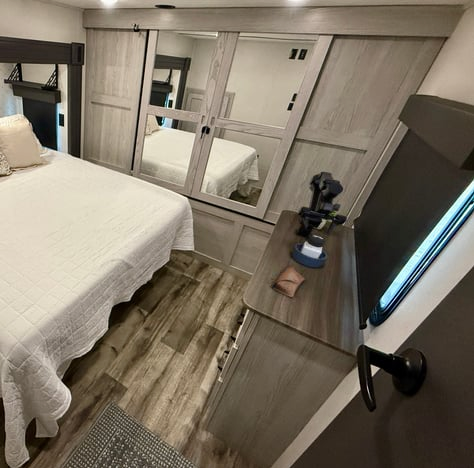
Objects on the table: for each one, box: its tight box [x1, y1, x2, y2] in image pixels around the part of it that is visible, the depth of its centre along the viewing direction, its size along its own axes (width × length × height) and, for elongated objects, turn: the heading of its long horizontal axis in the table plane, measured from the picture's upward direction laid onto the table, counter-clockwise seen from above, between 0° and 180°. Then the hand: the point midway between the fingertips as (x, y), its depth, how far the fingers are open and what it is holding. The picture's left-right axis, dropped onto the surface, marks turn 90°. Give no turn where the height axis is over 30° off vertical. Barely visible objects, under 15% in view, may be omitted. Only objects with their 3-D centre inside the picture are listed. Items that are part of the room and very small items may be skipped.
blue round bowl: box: [290, 242, 328, 268], centre depth 134 cm, size 13×13×5 cm
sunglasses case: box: [272, 265, 306, 298], centre depth 118 cm, size 18×7×7 cm
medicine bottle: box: [300, 235, 326, 258], centre depth 132 cm, size 7×7×12 cm
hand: (316, 231), depth 134 cm, fingers open, 9 cm apart
